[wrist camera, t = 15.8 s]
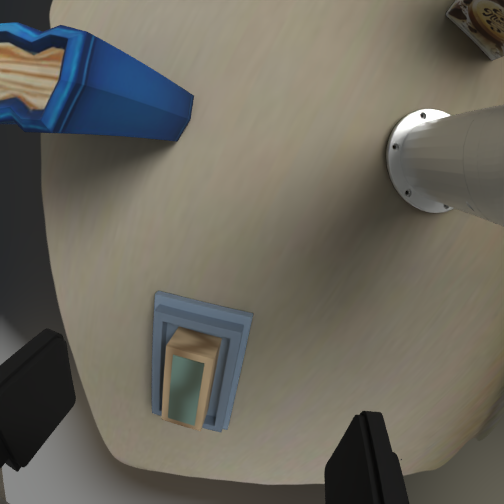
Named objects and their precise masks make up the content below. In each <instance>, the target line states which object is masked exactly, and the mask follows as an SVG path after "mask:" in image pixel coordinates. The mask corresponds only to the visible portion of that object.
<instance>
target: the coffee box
mask: <svg viewBox="0 0 504 504" xmlns="http://www.w3.org/2000/svg"><path fill="white" fill-rule="evenodd" d="M446 16H447V17H448V18H449V19H450V20H452V21H453V22H454V23H455V24H456V25H457V26H458V27H459V28H460V29H461V30H462V31H463V32H464V33H466V34H467V35H468V36H469V37H470V38H471V39H472V40H473V41H474V42H475V43H476V44H477V45H478V46H479V47H480V49H481V50H482V51H483V52H484V53H485V54H486V55H487V56H488V57H489V58H490V59H491V60H495V59H497V58H500V57H502V56H504V0H456V1H455V2H454V3H453V4H452V6H451V7H450V8H449V10H448V11H447V13H446Z"/></svg>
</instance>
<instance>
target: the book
mask: <svg viewBox="0 0 504 504" xmlns="http://www.w3.org/2000/svg"><path fill="white" fill-rule="evenodd" d="M193 99H194V95H192V94H190V93H189V92H187V91H186V90H184V89H183V88H181V87H180V86H178V85H177V84H175V83H174V82H172V81H170V80H169V79H167V78H166V77H164V76H163V75H161V74H159V73H158V72H156V71H154V70H153V69H151V68H150V67H148V66H146V65H145V64H143V63H141V62H140V61H138V60H136V59H135V58H133V57H131V56H129V55H128V54H126V53H124V52H123V51H121V50H119V49H117V48H116V47H114V46H112V45H110V44H108V43H107V42H105V41H103V40H101V39H99V38H98V37H96V36H94V35H92V34H90V33H88V32H86V31H82V30H78V29H75V28H71V27H67V26H63V25H60V26H57V27H54V28H51V29H49V30H47V31H44V32H42V31H39V30H37V29H34V28H31V27H29V26H26V25H23V24H20V23H17V22H15V23H0V124H17V125H18V126H19V127H20V128H21V129H22V130H23V131H24V132H39V133H70V134H94V135H111V136H125V137H138V138H149V139H159V140H168V141H178V139H179V138H180V136H181V134H182V133H183V131H184V129H185V128H186V126H187V125H188V123H189V121H190V119H191V112H192V106H193Z"/></svg>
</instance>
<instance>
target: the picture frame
mask: <svg viewBox="0 0 504 504" xmlns="http://www.w3.org/2000/svg"><path fill="white" fill-rule="evenodd" d="M221 341H222V338H220V337H216V336H212V335H208V334H204V333H201V332H197V331H193V330H190V329H186V328H183V327H178V328H177V330H176V332H175V333H174V335H173V336H172V338H171V339H170V341H169V342H168V344H167V345H166V355H165V367H164V382H163V398H162V420H165V421H169V422H172V423H175V424H178V425H181V426H185V427H188V428H191V429H195V430H199V431H201V429H202V426H203V423H204V420H205V417H206V414H207V411H208V408H209V403H210V397H211V392H212V387H213V382H214V377H215V371H216V366H217V361H218V356H219V351H220V346H221Z"/></svg>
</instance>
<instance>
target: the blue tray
mask: <svg viewBox="0 0 504 504" xmlns="http://www.w3.org/2000/svg"><path fill="white" fill-rule="evenodd" d="M252 317H253V313H249V312H245V311H240V310H236V309H232V308H227V307H223V306H219V305H214V304H210V303H206V302H202V301H198V300H194V299H190V298H186V297H182V296H178V295H174V294H170V293H166V292H162V291H158V292H157V293H156V294H155V304H154V322H153V346H152V413H154V414H157V415H160V416H162V398H163V382H164V367H165V355H166V345H167V344H168V342H169V341H170V339H171V338H172V336H173V335H174V333H175V332H176V330H177V328H178V327H183V328H186V329H190V330H193V331H197V332H201V333H204V334H208V335H212V336H216V337H220V338H222V341H221V346H220V351H219V356H218V361H217V366H216V371H215V377H214V382H213V387H212V392H211V397H210V403H209V408H208V411H207V414H206V417H205V420H204V423H203V426H202V428H205V429H209V430H213V431H217V432H221V431H222V429H226V430H227V429H228V425H229V421H230V416H231V412H232V408H233V403H234V399H235V394H236V390H237V385H238V381H239V377H240V372H241V368H242V363H243V358H244V354H245V349H246V345H247V340H248V336H249V331H250V326H251V322H252Z"/></svg>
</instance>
